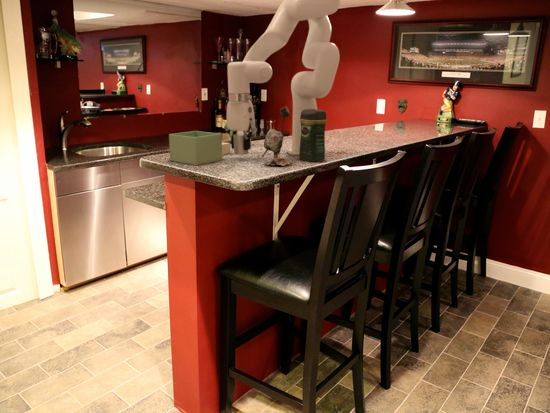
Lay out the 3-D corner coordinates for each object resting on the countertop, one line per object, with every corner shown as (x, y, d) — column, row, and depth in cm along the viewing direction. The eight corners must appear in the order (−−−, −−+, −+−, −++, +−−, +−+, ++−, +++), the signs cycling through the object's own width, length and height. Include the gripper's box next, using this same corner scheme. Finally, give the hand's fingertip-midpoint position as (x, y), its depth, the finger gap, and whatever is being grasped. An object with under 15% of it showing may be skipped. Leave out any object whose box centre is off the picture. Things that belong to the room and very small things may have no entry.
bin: (222, 159, 164) (221, 133, 161) (196, 165, 153) (195, 137, 151) (196, 155, 171) (195, 130, 168) (170, 160, 161) (168, 134, 158)
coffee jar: (328, 160, 164) (330, 109, 159) (311, 163, 160) (313, 110, 155) (311, 156, 172) (313, 107, 167) (295, 158, 168) (296, 108, 162)
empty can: (251, 153, 165) (250, 134, 163) (242, 155, 161) (241, 135, 159) (240, 151, 168) (239, 133, 166) (231, 153, 164) (230, 134, 162)
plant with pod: (272, 160, 163) (272, 105, 157) (295, 165, 156) (297, 106, 150) (256, 163, 157) (256, 105, 152) (279, 168, 150) (280, 107, 144)
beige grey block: (230, 153, 177) (230, 143, 176) (222, 154, 174) (222, 144, 173) (221, 151, 180) (220, 141, 179) (213, 153, 177) (213, 143, 176)
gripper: (264, 98, 156) (265, 149, 162) (228, 97, 166) (230, 145, 172) (251, 99, 151) (252, 152, 156) (214, 98, 160) (216, 148, 166)
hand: (241, 148), depth 164 cm, fingers closed on empty can, 5 cm apart
